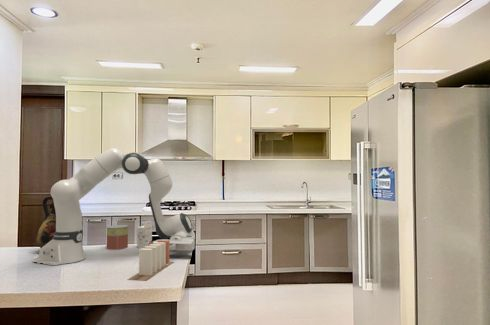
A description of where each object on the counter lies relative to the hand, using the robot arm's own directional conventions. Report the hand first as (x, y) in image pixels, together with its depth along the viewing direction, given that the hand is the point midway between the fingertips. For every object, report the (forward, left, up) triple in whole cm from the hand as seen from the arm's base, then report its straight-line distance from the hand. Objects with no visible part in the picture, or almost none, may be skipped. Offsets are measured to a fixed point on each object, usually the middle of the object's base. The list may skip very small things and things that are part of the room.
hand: (166, 248), depth 143 cm
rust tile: (0, -4, -6) cm, 7 cm away
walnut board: (0, -14, -7) cm, 15 cm away
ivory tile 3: (0, -12, -6) cm, 13 cm away
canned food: (-42, +26, -7) cm, 50 cm away
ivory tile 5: (0, -20, -6) cm, 20 cm away
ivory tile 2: (0, -8, -6) cm, 10 cm away
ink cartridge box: (-28, +31, -7) cm, 43 cm away
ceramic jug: (-72, +12, -7) cm, 73 cm away
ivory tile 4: (0, -16, -6) cm, 17 cm away
